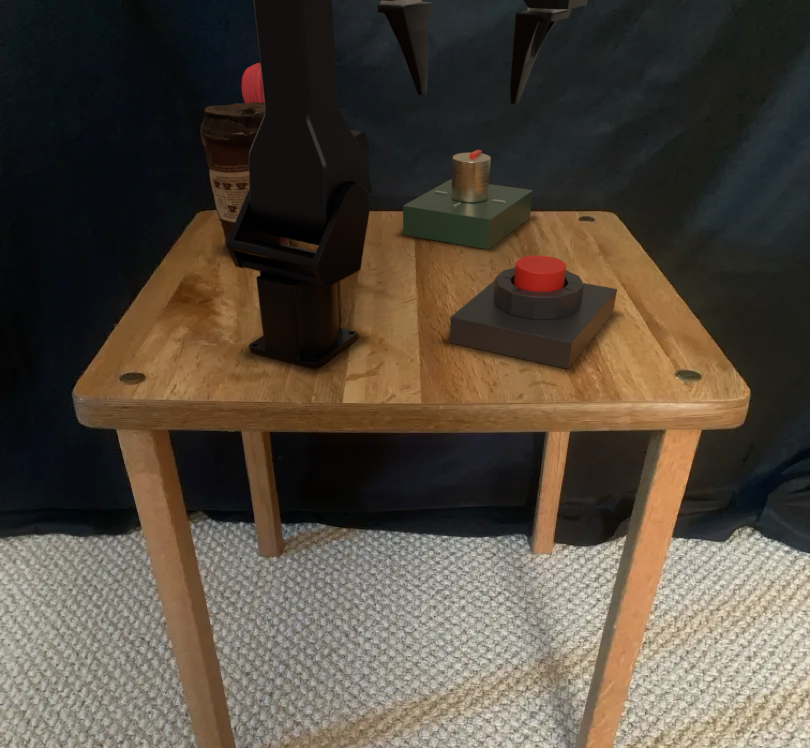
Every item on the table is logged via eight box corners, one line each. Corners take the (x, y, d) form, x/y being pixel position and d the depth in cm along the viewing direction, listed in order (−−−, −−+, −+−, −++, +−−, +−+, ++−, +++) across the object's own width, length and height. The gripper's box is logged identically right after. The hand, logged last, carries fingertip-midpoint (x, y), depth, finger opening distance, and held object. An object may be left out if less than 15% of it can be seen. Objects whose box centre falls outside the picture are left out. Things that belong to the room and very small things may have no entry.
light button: (553, 298, 61) (556, 276, 60) (506, 289, 63) (508, 267, 62) (570, 281, 64) (573, 260, 63) (524, 273, 66) (526, 252, 65)
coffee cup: (285, 266, 77) (271, 118, 69) (204, 261, 78) (181, 114, 70) (308, 237, 84) (297, 99, 76) (233, 233, 85) (215, 97, 77)
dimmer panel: (488, 249, 81) (490, 217, 79) (402, 234, 84) (402, 204, 82) (530, 218, 89) (533, 188, 87) (450, 205, 93) (451, 177, 91)
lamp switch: (568, 369, 60) (575, 319, 57) (449, 342, 63) (451, 294, 61) (613, 313, 68) (621, 267, 66) (505, 292, 72) (509, 248, 69)
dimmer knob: (479, 204, 83) (481, 160, 80) (444, 199, 84) (446, 155, 82) (494, 195, 86) (497, 152, 83) (460, 190, 87) (462, 147, 84)
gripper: (622, -121, 65) (592, 95, 74) (418, -119, 71) (415, 79, 81) (581, -128, 57) (554, 114, 66) (357, -125, 63) (362, 95, 73)
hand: (467, 99), depth 72 cm, fingers open, 9 cm apart
